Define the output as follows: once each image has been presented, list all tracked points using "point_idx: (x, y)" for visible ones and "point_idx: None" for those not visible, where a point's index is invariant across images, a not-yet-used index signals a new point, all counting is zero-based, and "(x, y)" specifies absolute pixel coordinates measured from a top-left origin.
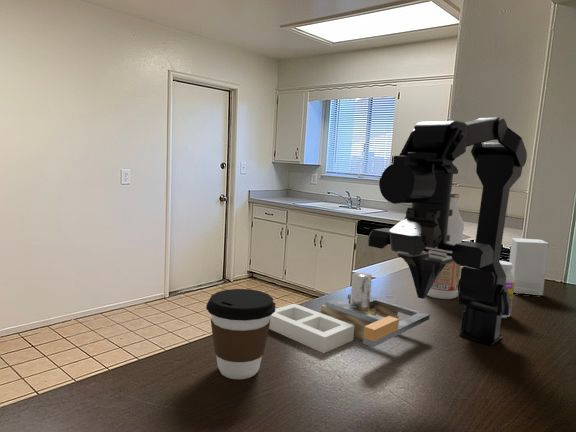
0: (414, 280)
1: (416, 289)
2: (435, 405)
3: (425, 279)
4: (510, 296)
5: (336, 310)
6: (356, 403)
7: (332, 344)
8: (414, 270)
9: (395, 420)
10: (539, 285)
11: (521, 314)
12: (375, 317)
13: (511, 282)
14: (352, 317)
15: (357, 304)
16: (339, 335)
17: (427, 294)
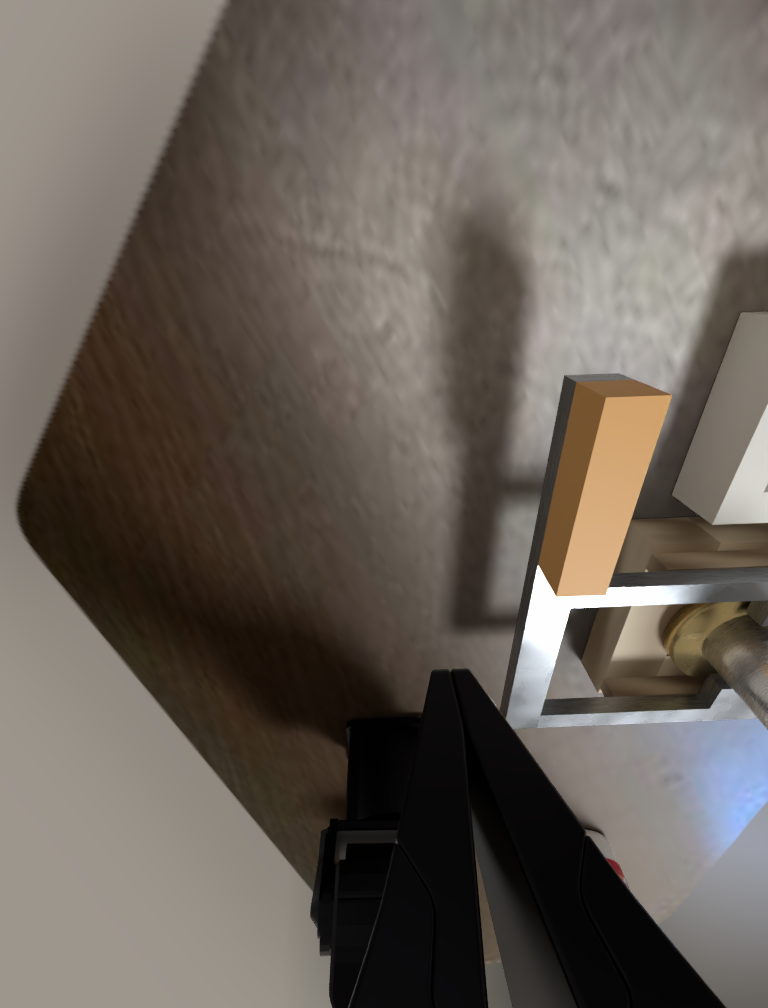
0: (550, 802)
1: (498, 719)
2: (248, 318)
3: (429, 859)
4: None
5: None
6: (443, 21)
7: (736, 374)
8: (618, 971)
9: (263, 55)
10: None
11: None
12: (658, 595)
13: None
14: (743, 563)
15: (766, 638)
16: (739, 426)
17: (586, 832)
